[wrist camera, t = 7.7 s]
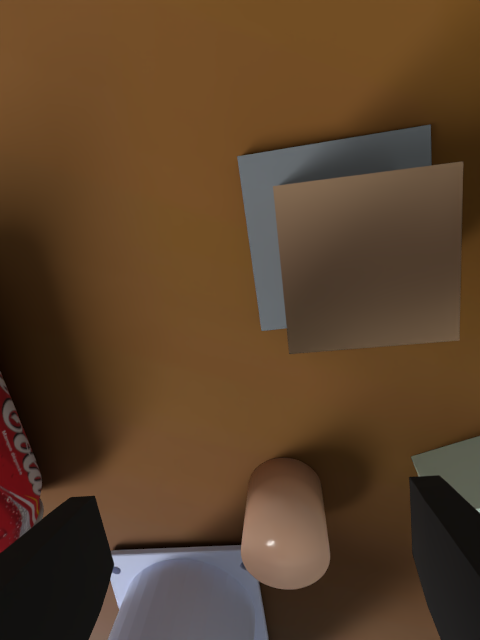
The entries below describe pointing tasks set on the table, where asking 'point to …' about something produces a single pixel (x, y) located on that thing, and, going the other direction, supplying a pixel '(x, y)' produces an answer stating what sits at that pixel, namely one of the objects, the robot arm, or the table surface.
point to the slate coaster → (307, 166)
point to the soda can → (16, 476)
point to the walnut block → (371, 258)
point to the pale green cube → (455, 467)
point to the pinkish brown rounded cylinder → (285, 525)
